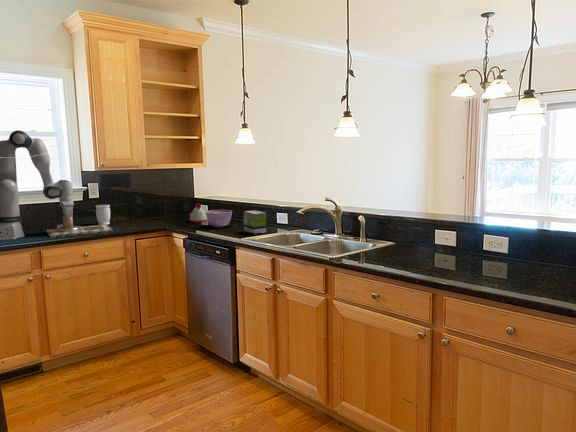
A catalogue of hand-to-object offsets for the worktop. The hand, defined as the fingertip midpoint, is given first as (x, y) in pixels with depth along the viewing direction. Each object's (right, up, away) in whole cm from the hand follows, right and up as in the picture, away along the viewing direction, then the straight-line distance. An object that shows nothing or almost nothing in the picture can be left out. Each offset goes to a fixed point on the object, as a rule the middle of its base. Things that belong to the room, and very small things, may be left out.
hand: (68, 222), depth 309 cm
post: (0, -6, +1) cm, 6 cm away
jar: (+10, -2, +36) cm, 38 cm away
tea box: (+132, -7, +1) cm, 132 cm away
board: (+6, -7, +4) cm, 10 cm away
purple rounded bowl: (+103, -4, +25) cm, 106 cm away
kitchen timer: (+82, 0, +51) cm, 96 cm away
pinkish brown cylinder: (-1, -4, 0) cm, 4 cm away
